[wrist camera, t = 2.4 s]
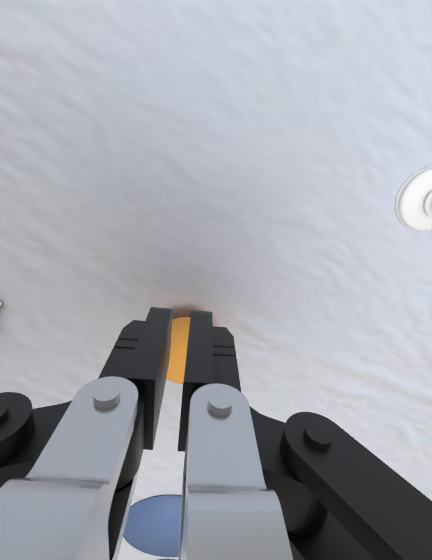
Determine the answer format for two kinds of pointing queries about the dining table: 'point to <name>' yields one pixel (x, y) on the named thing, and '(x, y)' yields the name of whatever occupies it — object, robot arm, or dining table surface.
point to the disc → (155, 525)
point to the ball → (178, 349)
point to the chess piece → (416, 201)
